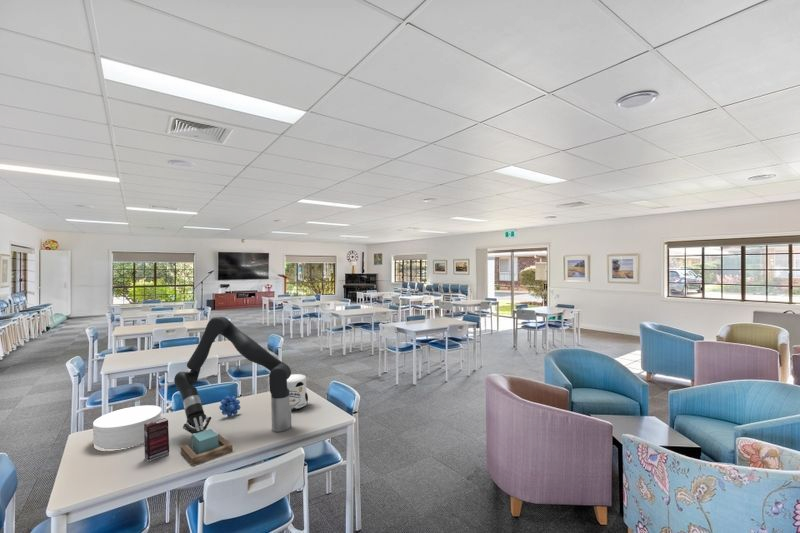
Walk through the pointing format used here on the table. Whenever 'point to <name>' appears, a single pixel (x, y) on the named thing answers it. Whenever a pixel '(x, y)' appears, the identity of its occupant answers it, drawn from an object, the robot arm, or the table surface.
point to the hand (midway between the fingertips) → (201, 439)
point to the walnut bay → (196, 459)
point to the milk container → (297, 391)
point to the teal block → (204, 441)
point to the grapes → (230, 406)
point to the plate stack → (124, 426)
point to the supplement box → (156, 439)
